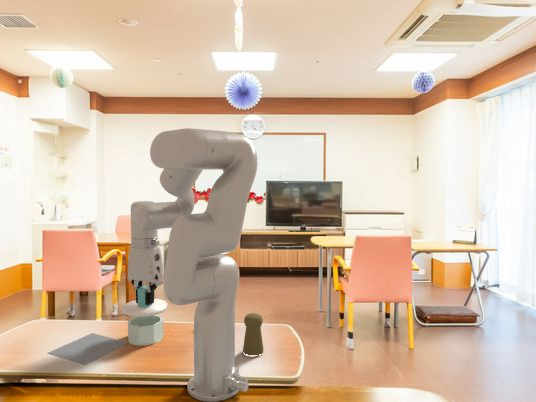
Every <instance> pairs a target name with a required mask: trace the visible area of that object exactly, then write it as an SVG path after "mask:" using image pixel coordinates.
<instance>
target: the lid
mask: <svg viewBox="0 0 536 402" xmlns="http://www.w3.org/2000/svg"><path fill="white" fill-rule="evenodd" d="M137 289H138V303H136V299H135V300H131V301H128V302H127V303H124V305H122V307H121V312H122V314H123V315H124V316H128V317H131V318H133V317H147V316H153V315H160V314H163V313H164V312H166V310H167V309H168V302H167V301H165V300H164V299H159V298H154V303H152V304H150V305H148V306H147V305H145V292H147V288H146V285H143V287H140V288H137Z"/></svg>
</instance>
